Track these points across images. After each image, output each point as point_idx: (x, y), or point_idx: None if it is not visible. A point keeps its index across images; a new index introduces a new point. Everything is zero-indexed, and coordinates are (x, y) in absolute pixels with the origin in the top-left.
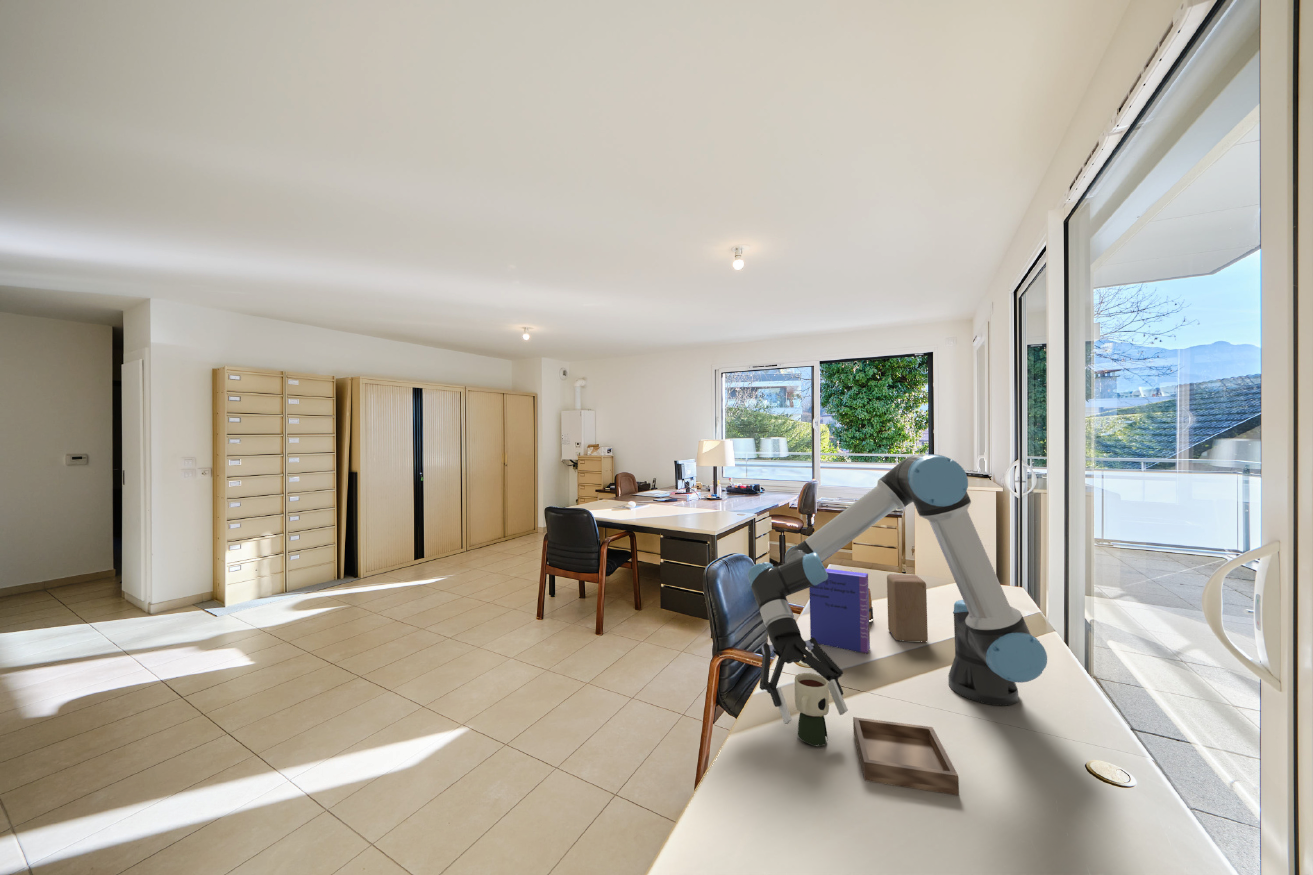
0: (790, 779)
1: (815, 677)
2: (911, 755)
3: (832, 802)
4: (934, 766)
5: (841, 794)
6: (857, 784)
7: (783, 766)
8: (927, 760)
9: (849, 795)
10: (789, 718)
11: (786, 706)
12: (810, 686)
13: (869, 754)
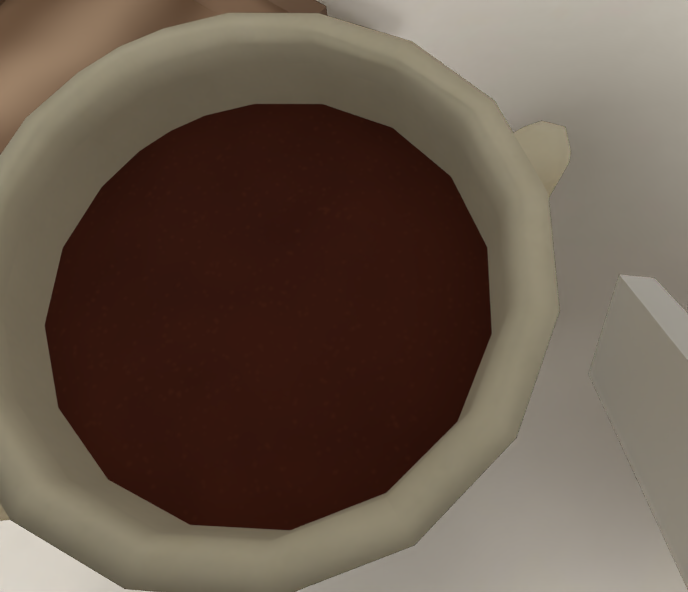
0: (666, 184)
1: (23, 405)
2: (27, 86)
3: (557, 28)
4: (23, 13)
5: (490, 48)
6: None
7: (653, 273)
8: (7, 43)
9: (462, 35)
10: (646, 282)
11: (676, 333)
12: (285, 284)
13: None
